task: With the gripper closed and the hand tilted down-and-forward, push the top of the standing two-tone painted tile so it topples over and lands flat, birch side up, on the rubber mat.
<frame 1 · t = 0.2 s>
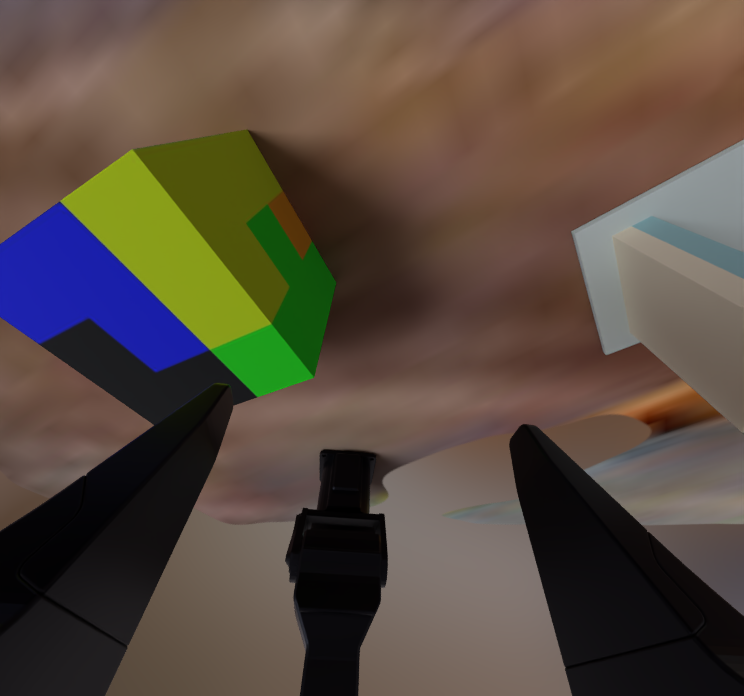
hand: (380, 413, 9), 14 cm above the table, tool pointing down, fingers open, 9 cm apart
puzzle toy: (237, 247, 21), on the table
mat: (732, 236, 20), on the table
tile: (639, 281, 21), resting on mat
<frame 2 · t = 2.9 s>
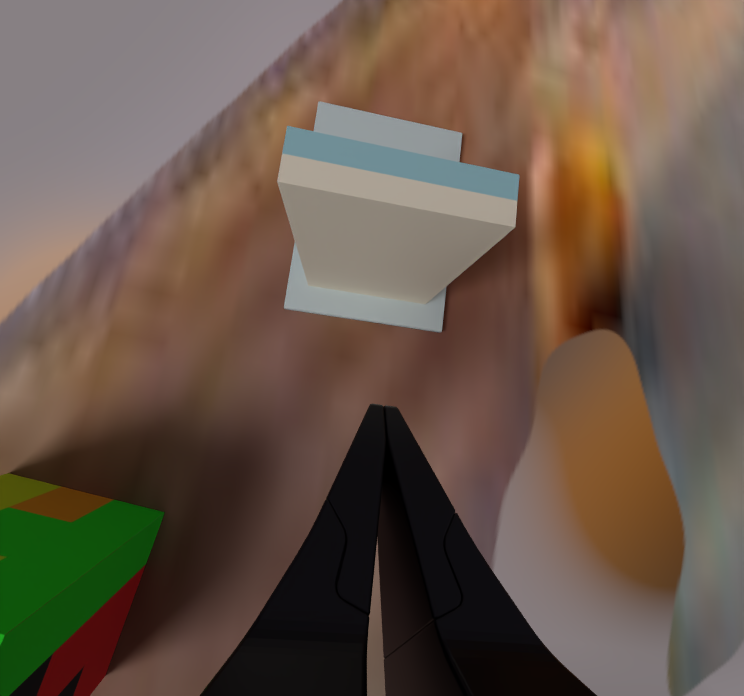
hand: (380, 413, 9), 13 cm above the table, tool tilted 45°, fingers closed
puzzle toy: (59, 570, 20), on the table
mat: (378, 217, 24), on the table
tile: (369, 281, 23), resting on mat
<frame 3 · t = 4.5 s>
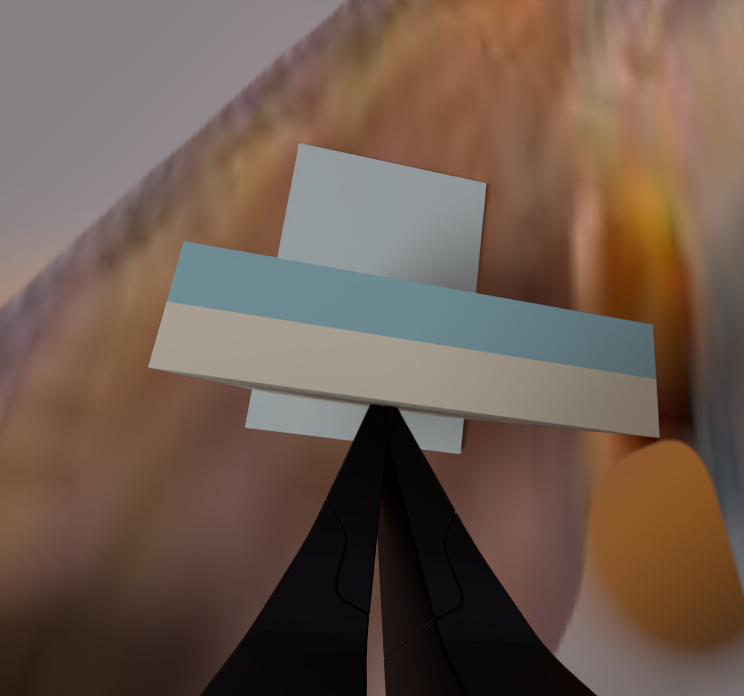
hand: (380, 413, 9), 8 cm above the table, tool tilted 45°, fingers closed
mat: (376, 295, 18), on the table
tile: (364, 386, 17), resting on mat
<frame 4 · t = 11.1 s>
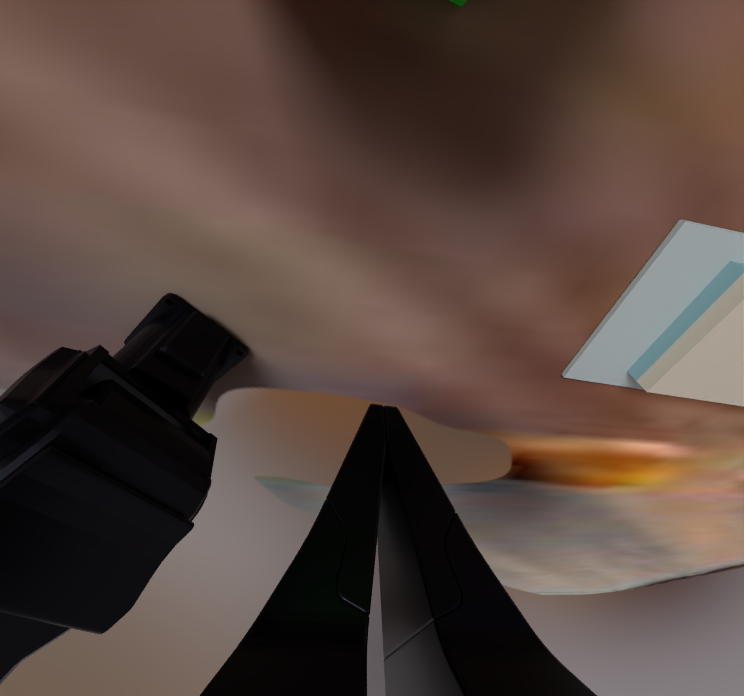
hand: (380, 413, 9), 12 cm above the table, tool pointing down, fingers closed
mat: (719, 329, 22), on the table
tile: (684, 332, 20), point 1 cm above the table, tilted 90°, touching mat
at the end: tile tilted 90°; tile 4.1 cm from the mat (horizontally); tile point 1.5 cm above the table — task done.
